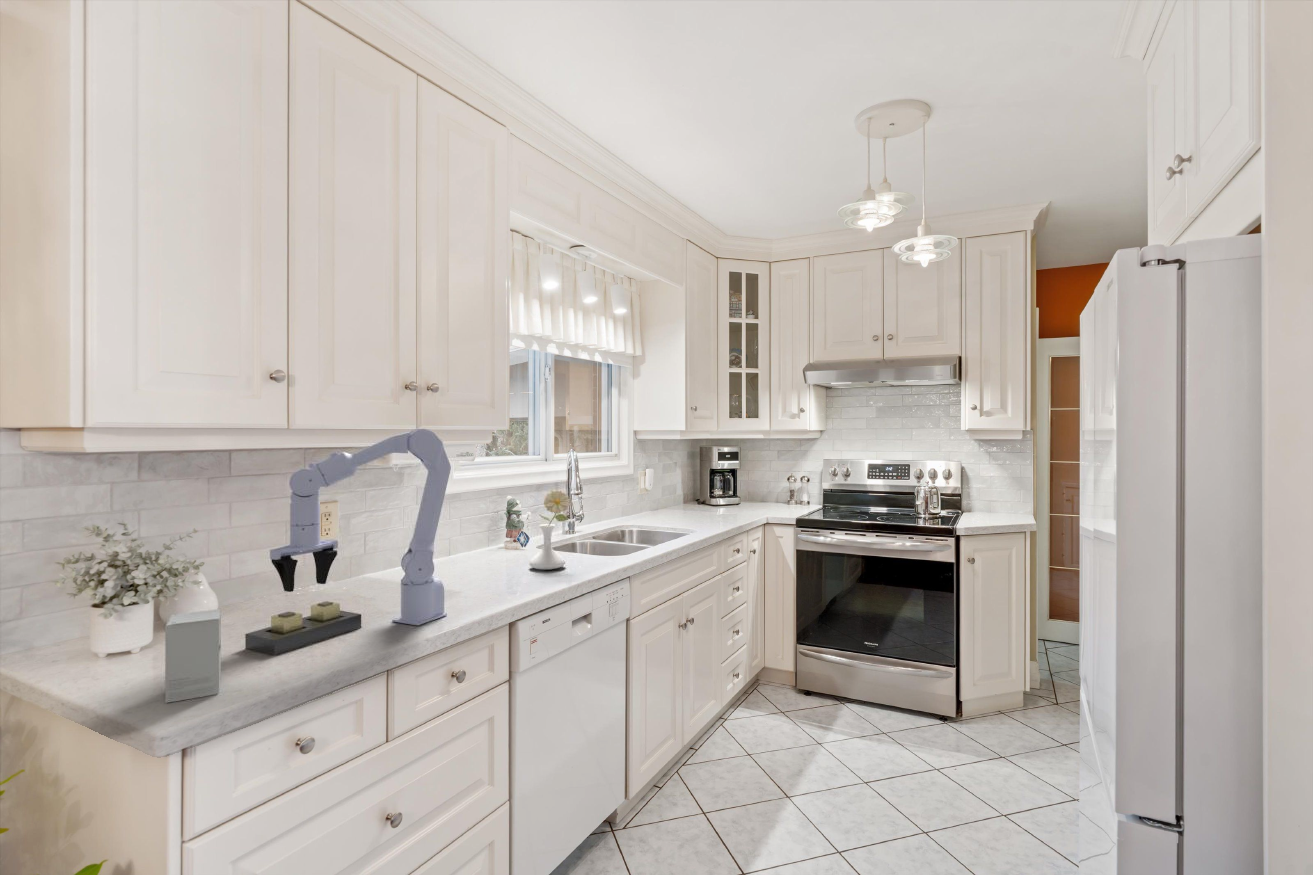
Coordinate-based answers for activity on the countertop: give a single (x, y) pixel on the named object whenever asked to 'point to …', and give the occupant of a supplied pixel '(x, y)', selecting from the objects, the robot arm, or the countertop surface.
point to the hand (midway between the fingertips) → (305, 587)
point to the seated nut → (325, 611)
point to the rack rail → (301, 634)
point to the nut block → (286, 623)
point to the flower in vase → (547, 555)
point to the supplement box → (192, 655)
